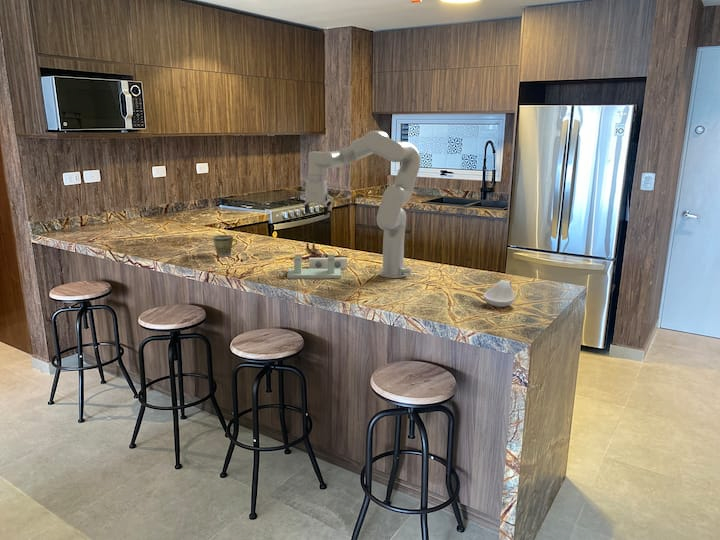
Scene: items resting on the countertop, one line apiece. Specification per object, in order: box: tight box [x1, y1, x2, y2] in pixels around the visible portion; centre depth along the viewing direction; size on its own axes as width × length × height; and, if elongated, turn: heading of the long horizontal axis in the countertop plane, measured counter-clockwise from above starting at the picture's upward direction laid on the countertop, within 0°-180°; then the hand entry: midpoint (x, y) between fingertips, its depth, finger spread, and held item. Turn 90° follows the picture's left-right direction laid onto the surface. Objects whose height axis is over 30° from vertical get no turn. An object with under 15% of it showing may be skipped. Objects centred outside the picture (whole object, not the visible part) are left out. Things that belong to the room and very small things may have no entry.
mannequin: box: [290, 242, 349, 260], centre depth 288 cm, size 26×29×4 cm
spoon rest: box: [483, 279, 516, 308], centre depth 215 cm, size 24×12×7 cm, turn 157°
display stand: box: [286, 253, 342, 279], centre depth 248 cm, size 24×12×9 cm, turn 93°
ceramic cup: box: [212, 234, 238, 258], centre depth 283 cm, size 13×10×10 cm
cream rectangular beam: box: [308, 257, 348, 270], centre depth 262 cm, size 18×4×5 cm, turn 94°
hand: (316, 214), depth 261 cm, fingers open, 9 cm apart
